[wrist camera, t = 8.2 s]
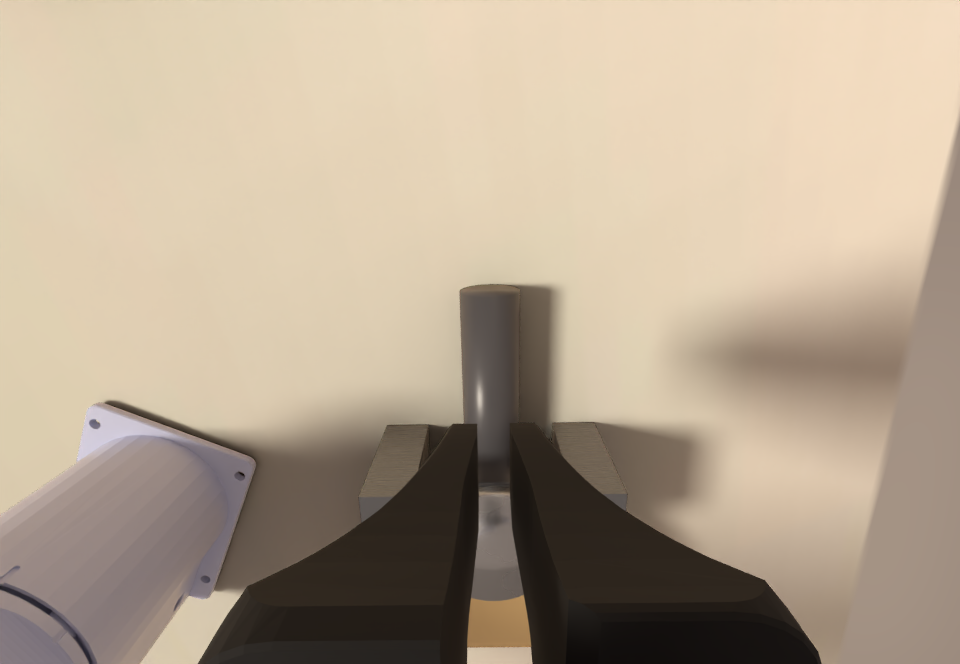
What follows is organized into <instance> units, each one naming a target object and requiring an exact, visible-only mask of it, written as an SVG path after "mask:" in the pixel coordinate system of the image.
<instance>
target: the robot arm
mask: <svg viewBox="0 0 960 664" xmlns="http://www.w3.org/2000/svg"><path fill="white" fill-rule="evenodd" d="M96 420H97V421H99V423H100V424H99V423H97V421H96ZM255 468H256V463H255V461H254V460H253V458H251V457H249V456H247V455H244V454H242V453H239V452H236V451H234V450H231V449H228V448H225V447H223V446H220V445H217V444H214V443H212V442H209V441H206V440H203V439H201V438H198V437H195V436H192V435H190V434H187V433H184V432H182V431H179V430H176V429H173V428H171V427H168V426H165V425H162V424H160V423H157V422H154V421H151V420H149V419H146V418H143V417H140V416H138V415H135V414H132V413H130V412H127V411H124V410H121V409H119V408H116V407H113V406H110V405H108V404H105V403H95V404H94V405H92V406H90V407H89V408H88V409H87V412H86V417H85V422H84V427H83V431H82V436H81V441H80V446H79V451H78V456H77V461H76V463H75V464H74V465H72V466H71V467H69V468H68V469H66V470H65V471H63V472H62V473H60V474H59V475H57V476H56V477H55V478H53V479H52V480H50V481H49V482H47V483H46V484H44V485H43V486H41V487H40V488H39V489H37V490H36V491H34V492H33V493H31V494H30V495H28V496H27V497H25V498H24V499H22V500H21V501H20V502H18V503H17V504H15V505H14V506H12V507H11V508H9V509H8V510H6V511H5V512H3V513H2V514H1V515H0V664H140V663H141V661H142V660H143V658H144V657H145V656H146V654H147V653H148V651H149V650H150V649H151V647H152V646H153V644H154V643H155V642H156V640H157V639H158V637H159V636H160V635H161V633H162V632H163V630H164V629H165V628H166V626H167V625H168V623H169V622H170V621H171V619H172V618H173V616H174V615H175V614H176V612H177V611H178V609H179V608H180V607H181V605H182V604H183V603H184V601H185V600H186V598H187V597H188V596H192V597H195V598H198V599H207V598H209V597H210V595H211V594H212V592H213V591H214V588H215V585H216V583H217V580H218V577H219V574H220V571H221V568H222V565H223V562H224V559H225V556H226V553H227V550H228V547H229V544H230V541H231V539H232V536H233V533H234V530H235V527H236V524H237V521H238V518H239V515H240V512H241V509H242V506H243V503H244V500H245V498H246V495H247V492H248V489H249V486H250V483H251V480H252V477H253V474H254V471H255ZM239 472H242V473H244V475H245V476H242V475H240V474H239ZM510 505H511V521H512V532H513V538H514V543H515V549H516V555H517V560H518V566H519V571H520V577H521V583H522V588H523V594H524V599H525V605H526V610H527V616H528V623H529V631H530V639H531V650H532V662H533V664H821V660H820V657H819V653H818V651H817V650H816V648H815V647H814V645H813V644H812V643H811V641H810V640H809V638H808V637H807V636H806V634H805V633H804V631H803V630H802V629H801V627H800V625H799V624H798V622H797V621H796V620H795V618H794V617H793V615H792V614H791V613H790V611H789V610H788V608H787V607H786V606H785V605H784V603H783V602H782V601H781V600H780V598H779V597H778V596H777V595H776V594H775V592H774V591H773V590H772V589H771V587H770V586H769V585H768V584H767V583H766V581H765V580H763V579H760V578H758V577H755V576H753V575H750V574H748V573H745V572H743V571H741V570H738V569H736V568H733V567H731V566H728V565H726V564H723V563H721V562H719V561H716V560H714V559H711V558H709V557H707V556H705V555H703V554H701V553H699V552H696V551H694V550H692V549H690V548H688V547H686V546H684V545H682V544H680V543H678V542H676V541H674V540H673V539H671V538H669V537H667V536H665V535H664V534H662V533H660V532H658V531H656V530H655V529H653V528H652V527H650V526H648V525H647V524H645V523H643V522H642V521H640V520H638V519H637V518H635V517H634V516H632V515H631V514H629V513H628V512H626V511H625V510H623V509H622V508H620V507H619V506H618V505H616V504H615V503H614V502H612V501H611V500H610V499H608V498H607V497H606V496H604V495H603V494H602V493H601V492H599V491H598V490H597V489H596V488H594V487H593V486H592V485H591V484H590V483H589V482H588V481H587V480H585V479H584V478H583V477H582V476H581V475H580V474H579V473H578V472H577V471H576V470H575V469H574V468H573V467H572V466H571V465H570V464H569V463H568V462H567V460H566V459H565V458H564V457H563V456H562V455H561V454H560V453H559V452H558V451H557V449H556V448H555V447H554V446H553V445H552V444H551V442H550V441H549V440H548V439H547V437H546V436H545V435H544V434H543V432H542V431H541V430H540V428H539V427H538V426H537V425H536V424H535V423H510ZM478 532H479V478H478V436H477V424H452V425H451V426H450V427H449V428H448V430H447V432H446V434H445V435H444V437H443V438H442V440H441V441H440V443H439V444H438V446H437V447H436V448H435V450H434V451H433V453H432V454H431V455H430V456H429V458H428V459H427V460H426V462H425V463H424V464H423V465H422V467H421V468H420V469H419V470H418V471H417V472H416V474H415V475H414V476H413V477H412V478H411V479H410V480H409V481H408V482H407V483H406V485H405V486H404V487H403V488H402V489H401V490H400V491H399V492H398V493H397V494H396V495H395V496H394V497H393V498H392V499H391V500H390V501H388V502H387V503H386V504H385V505H384V506H383V507H382V508H381V509H379V510H378V511H377V512H376V513H374V514H373V515H372V516H370V517H369V518H368V519H366V520H365V521H363V522H362V523H361V524H359V525H358V526H357V527H355V528H354V529H353V530H351V531H350V532H348V533H347V534H345V535H344V536H342V537H341V538H339V539H338V540H336V541H334V542H333V543H331V544H330V545H328V546H326V547H325V548H323V549H321V550H319V551H318V552H316V553H314V554H313V555H311V556H309V557H307V558H305V559H303V560H302V561H300V562H298V563H296V564H294V565H292V566H290V567H288V568H286V569H283V570H281V571H279V572H277V573H275V574H273V575H271V576H269V577H267V578H265V579H263V580H261V581H259V582H256V583H254V584H252V585H249V586H248V587H247V588H246V589H245V591H244V592H243V594H242V595H241V597H240V598H239V599H238V601H237V602H236V603H235V605H234V606H233V608H232V609H231V610H230V612H229V613H228V615H227V616H226V618H225V620H224V621H223V623H222V624H221V626H220V627H219V629H218V631H217V632H216V634H215V636H214V637H213V639H212V641H211V642H210V644H209V646H208V648H207V649H206V651H205V653H204V654H203V656H202V658H201V659H200V661H199V663H198V664H467V638H468V624H469V612H470V603H471V594H472V586H473V577H474V568H475V559H476V550H477V541H478Z"/></svg>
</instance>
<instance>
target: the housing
mask: <svg viewBox="0 0 960 664" xmlns="http://www.w3.org/2000/svg"><path fill="white" fill-rule="evenodd" d="M552 445H553V446H554V447H555V448H556V449H557V451H558V452H559V453H560V454H561V455H562V456H563V457H564V458H565V459H566V460H567V462H568V463H569V464H570V465H571V466H572V467H573V468H574V469H575V470H576V471H577V472H578V473H579V474H580V475H581V476H582V477H583V478H584V479H585V480H587V481H588V482H589V483H590V484H591V485H592V486H593V487H594V488H596V489H597V490H598V491H599V492H601V493H602V494H603V495H604V496H606V497H607V498H608V499H610V500H611V501H612V502H614V503H615V504H616V505H618V506H619V507H620V508H622V509H623V510H625V511H626V503H627V492H626V490H625V488H624V485H623V483H622V481H621V479H620V477H619V475H618V473H617V470H616V468H615V466H614V464H613V462H612V460H611V458H610V455H609V453H608V451H607V449H606V447H605V445H604V443H603V440H602V438H601V436H600V434H599V432H598V430H597V428H596V425H595V423H594V422H587V423H552ZM429 456H430V446H429V429H428V425H387V427H386V429H385V432H384V434H383V437H382V439H381V442H380V444H379V447H378V449H377V452H376V454H375V457H374V459H373V462H372V464H371V467H370V469H369V472H368V475H367V477H366V480H365V482H364V485H363V487H362V490H361V492H360V495H359V506H360V514H361V523H362V522H363V521H365V520H366V519H368V518H369V517H370V516H372V515H373V514H374V513H376V512H377V511H378V510H379V509H381V508H382V507H383V506H384V505H385V504H386V503H387V502H388V501H390V500H391V499H392V498H393V497H394V496H395V495H396V494H397V493H398V492H399V491H400V490H401V489H402V488H403V487H404V486H405V485H406V483H407V482H408V481H409V480H410V479H411V478H412V477H413V476H414V475H415V474H416V472H417V471H418V470H419V469H420V468H421V467H422V465H423V464H424V463H425V462H426V460H427V459H428V458H429ZM522 595H524V594H523V588H522V583H521V577H520V571H519V566H518V560H517V555H516V549H515V543H514V538H513V532H512V521H511V505H510V482H479V532H478V541H477V550H476V559H475V568H474V577H473V586H472V594H471V598H473V599H477V600H484V601H503V600H509V599H513V598H517V597H520V596H522Z"/></svg>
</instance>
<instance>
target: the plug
mask: <svg viewBox="0 0 960 664" xmlns="http://www.w3.org/2000/svg"><path fill="white" fill-rule="evenodd" d="M460 319H461V349H462V379H463V409H464V424H477V436H478V478H479V482H510V423H519V373H520V289H518V288H516V287H513V286H508V285H494V284H489V285H475V286H470V287H466V288H463V289H461V290H460ZM467 647H531V639H530V631H529V623H528V616H527V610H526V605H525V599H524V595H522V596H520V597H517V598H513V599H509V600H503V601H484V600H477V599H473V598H471V603H470V612H469V624H468V638H467Z"/></svg>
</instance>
